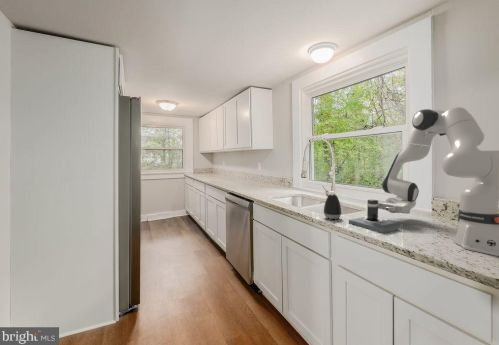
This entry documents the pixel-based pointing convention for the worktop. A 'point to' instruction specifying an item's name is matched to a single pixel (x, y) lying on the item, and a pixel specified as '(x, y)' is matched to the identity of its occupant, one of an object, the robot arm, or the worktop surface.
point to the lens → (372, 210)
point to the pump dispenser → (332, 207)
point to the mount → (376, 224)
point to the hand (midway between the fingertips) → (378, 207)
